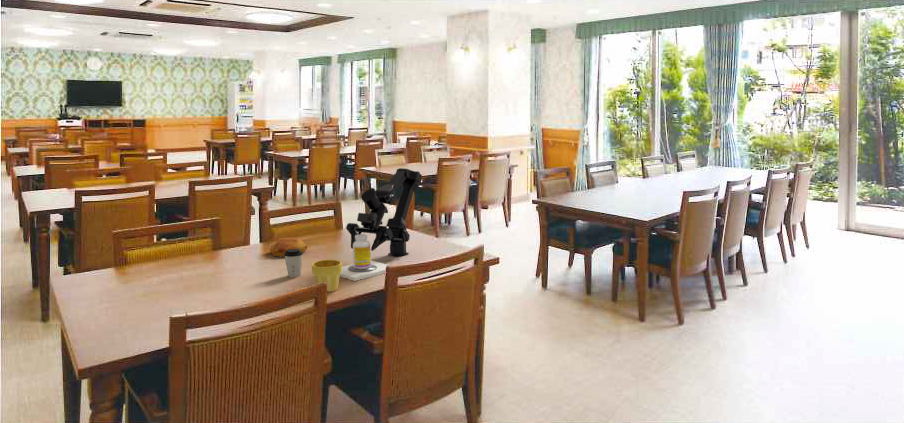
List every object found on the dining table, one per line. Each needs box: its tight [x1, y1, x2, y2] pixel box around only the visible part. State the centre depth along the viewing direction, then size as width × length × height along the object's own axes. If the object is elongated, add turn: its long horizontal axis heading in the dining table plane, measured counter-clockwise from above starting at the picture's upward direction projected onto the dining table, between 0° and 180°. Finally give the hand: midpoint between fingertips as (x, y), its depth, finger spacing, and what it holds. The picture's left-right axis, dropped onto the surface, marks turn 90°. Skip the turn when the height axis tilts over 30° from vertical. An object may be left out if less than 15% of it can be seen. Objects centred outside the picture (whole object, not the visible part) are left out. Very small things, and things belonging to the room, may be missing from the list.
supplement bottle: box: [352, 233, 372, 269], centre depth 243 cm, size 7×7×13 cm
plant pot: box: [311, 259, 343, 292], centre depth 221 cm, size 10×10×10 cm
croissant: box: [269, 237, 308, 257], centre depth 273 cm, size 14×16×8 cm
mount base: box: [340, 260, 388, 282], centre depth 245 cm, size 20×16×2 cm
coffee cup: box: [284, 249, 304, 279], centre depth 239 cm, size 7×7×10 cm
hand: (361, 249), depth 243 cm, fingers open, 9 cm apart
